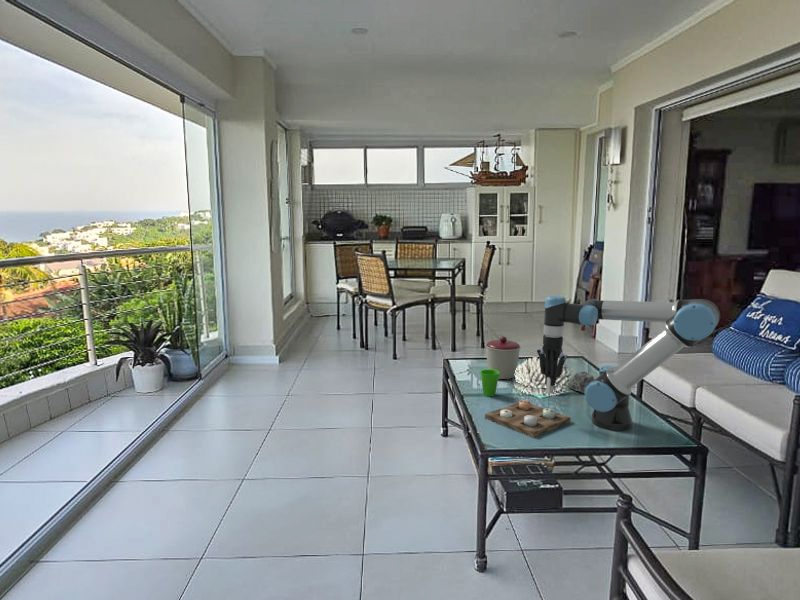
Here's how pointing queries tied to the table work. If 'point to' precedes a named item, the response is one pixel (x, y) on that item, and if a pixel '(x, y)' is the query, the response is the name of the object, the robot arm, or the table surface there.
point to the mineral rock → (580, 381)
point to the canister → (503, 356)
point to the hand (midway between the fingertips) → (549, 392)
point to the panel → (518, 420)
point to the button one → (506, 413)
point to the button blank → (530, 421)
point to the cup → (489, 381)
